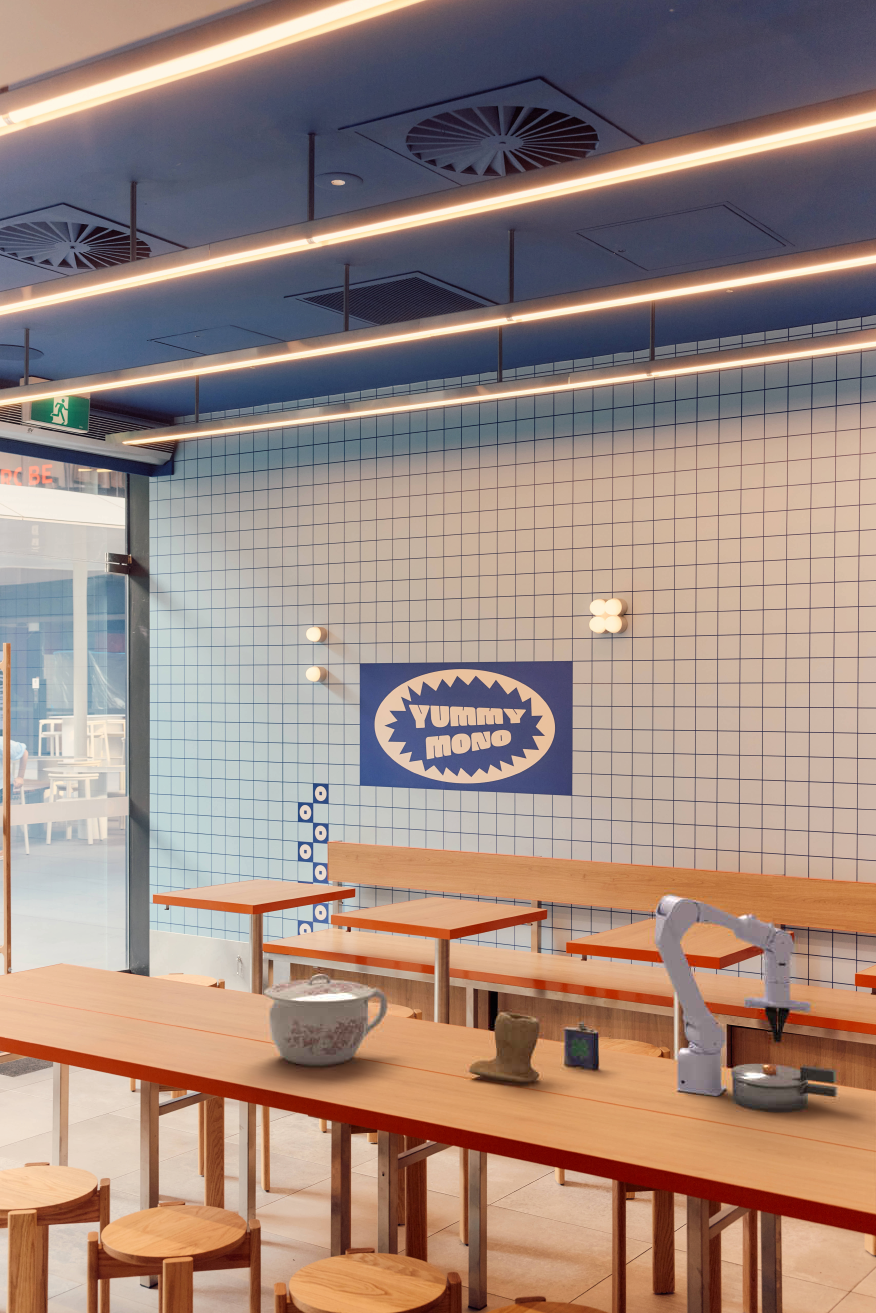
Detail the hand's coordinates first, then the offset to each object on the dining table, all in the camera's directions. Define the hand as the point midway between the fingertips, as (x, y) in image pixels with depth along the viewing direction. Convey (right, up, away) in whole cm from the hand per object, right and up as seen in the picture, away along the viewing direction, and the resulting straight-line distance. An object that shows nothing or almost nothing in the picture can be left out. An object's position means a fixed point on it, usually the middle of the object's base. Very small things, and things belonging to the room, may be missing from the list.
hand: (777, 1041), depth 280 cm
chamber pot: (-108, -11, +20) cm, 110 cm away
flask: (-43, -12, +16) cm, 47 cm away
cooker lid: (-3, -4, -14) cm, 15 cm away
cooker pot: (-3, -9, -14) cm, 17 cm away
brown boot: (-62, -10, +4) cm, 63 cm away
